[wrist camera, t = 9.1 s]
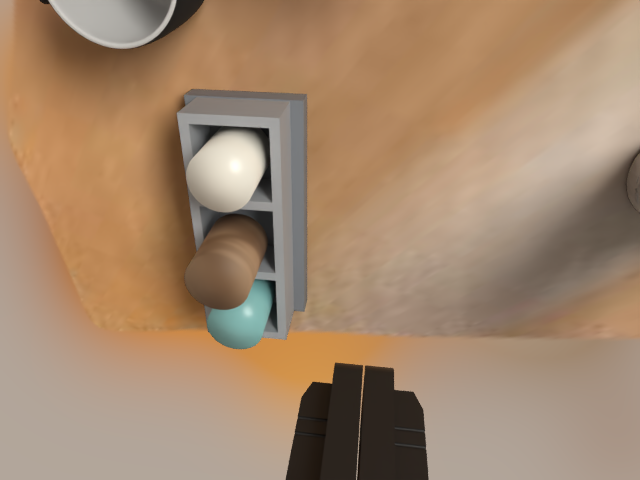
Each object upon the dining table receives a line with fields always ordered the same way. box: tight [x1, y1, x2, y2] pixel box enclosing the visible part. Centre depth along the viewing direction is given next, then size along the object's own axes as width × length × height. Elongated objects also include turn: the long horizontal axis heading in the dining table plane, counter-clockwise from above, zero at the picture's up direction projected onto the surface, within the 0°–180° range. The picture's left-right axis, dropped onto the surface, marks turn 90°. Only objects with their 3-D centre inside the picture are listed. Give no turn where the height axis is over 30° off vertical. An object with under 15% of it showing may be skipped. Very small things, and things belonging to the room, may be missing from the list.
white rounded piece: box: [186, 126, 271, 212], centre depth 38 cm, size 5×5×6 cm
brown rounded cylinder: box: [184, 214, 268, 310], centre depth 39 cm, size 5×5×6 cm
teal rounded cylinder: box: [207, 279, 276, 349], centre depth 45 cm, size 5×5×6 cm
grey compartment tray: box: [177, 89, 307, 340], centre depth 44 cm, size 10×22×6 cm, turn 179°
